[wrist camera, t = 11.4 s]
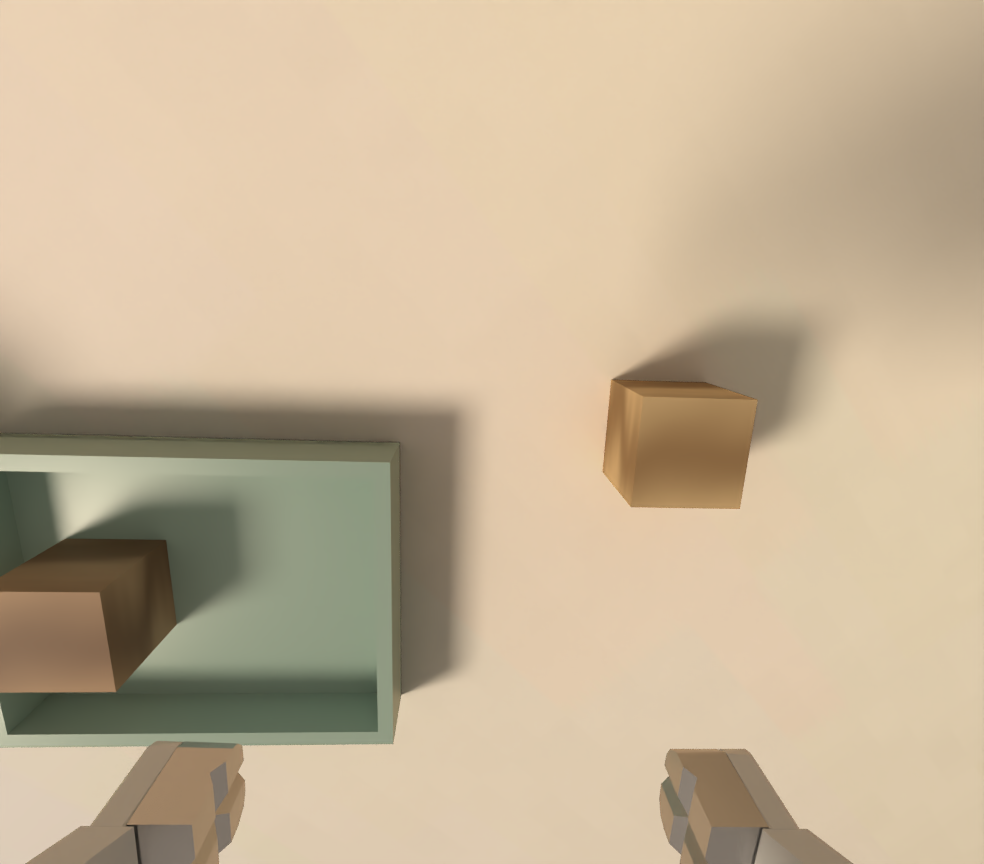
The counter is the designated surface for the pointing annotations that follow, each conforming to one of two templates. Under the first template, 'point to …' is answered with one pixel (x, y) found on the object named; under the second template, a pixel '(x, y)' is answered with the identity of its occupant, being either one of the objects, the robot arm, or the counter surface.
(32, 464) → the tray
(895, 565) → the counter surface
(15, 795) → the counter surface
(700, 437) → the oak block
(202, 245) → the counter surface
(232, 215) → the counter surface
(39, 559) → the walnut block
